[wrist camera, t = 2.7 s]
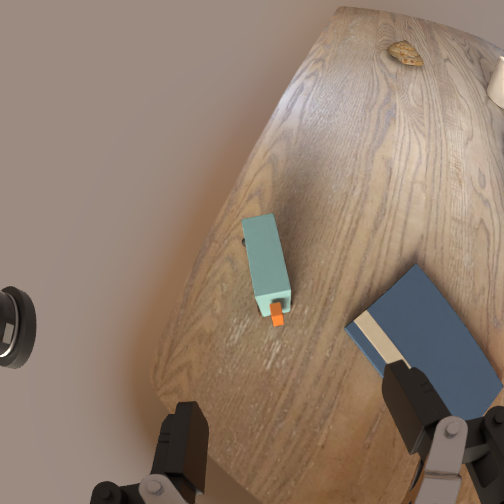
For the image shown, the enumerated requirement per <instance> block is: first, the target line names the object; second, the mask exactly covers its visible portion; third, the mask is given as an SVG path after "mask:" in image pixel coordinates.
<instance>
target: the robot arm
mask: <svg viewBox="0 0 504 504" xmlns="http://www.w3.org/2000/svg"><path fill="white" fill-rule="evenodd" d="M20 324H21V317H20V309H19V305H18V302H17V300H16V299H15V298H14V297H13V296H12V295H10V294H8V293H5V292H2V291H0V357H2V358H5V357H8V356H9V355H10V354H11V353H12V352H13V350H14V348H15V346H16V344H17V341H18V338H19V333H20ZM382 395H383V398H384V401H385V403H386V405H387V407H388V409H389V411H390V413H391V415H392V417H393V419H394V421H395V424H396V426H397V428H398V430H399V432H400V434H401V436H402V439H403V441H404V443H405V445H406V447H407V450H408V452H409V454H410V455H412V454H414V453H416V452H418V453H419V456H420V459H419V461H418V464H417V467H416V470H415V473H414V476H413V478H412V481H411V484H410V486H409V489H408V491H407V493H406V496H405V498H404V499H403V501H402V503H401V504H455V502H456V499H457V496H458V492H459V489H460V485H461V480H462V478H461V476H460V475H459V472H460V468H461V464H464V463H465V465H466V467H467V469H468V472H469V474H470V476H471V479H472V481H473V484H474V486H475V489H476V491H477V494H478V496H479V499H480V502H481V504H504V407H503V406H495V407H493V408H491V409H490V410H489V411H488V412H487V413H486V415H485V416H483V417H479V418H475V419H470V420H463V419H462V418H460V417H457V416H453V415H452V414H451V413H450V411H449V410H448V408H447V407H446V405H445V403H444V402H443V400H442V399H441V397H440V396H439V394H438V393H437V391H436V390H435V389H434V387H433V385H432V384H431V383H430V381H429V379H428V378H427V376H426V375H425V373H424V372H422V371H421V370H419V369H418V368H416V367H412V368H410V369H409V368H408V366H407V365H406V363H405V362H404V360H402V359H400V360H398V361H395V362H392V363H389V364H386V365H385V368H384V375H383V382H382ZM208 438H209V427H208V423H207V420H206V418H205V417H204V415H203V413H202V411H201V409H200V407H199V405H198V404H197V402H196V401H191V402H179V403H178V404H177V406H176V411H175V414H169V415H168V416H167V417H166V419H165V420H164V421H163V423H162V426H161V431H160V435H159V439H158V444H157V447H156V452H155V457H154V461H153V466H152V470H151V473H150V475H148V476H146V477H145V478H143V480H142V481H141V482H140V483H138V484H133V485H127V486H120V487H119V486H117V485H116V484H114V483H112V482H109V481H105V482H101V483H99V484H98V485H96V486H95V488H94V489H93V492H92V496H91V501H90V504H196V503H195V496H196V494H199V495H203V494H204V488H205V474H206V462H207V450H208Z"/></svg>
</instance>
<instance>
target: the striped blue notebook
mask: <svg viewBox="0 0 504 504" xmlns="http://www.w3.org/2000/svg"><path fill="white" fill-rule="evenodd" d="M344 329H345V330H346V332H347V333H348V334H349V336H350V337H351V338H352V339H353V341H354V342H355V343H356V344H357V346H358V347H359V348H360V350H361V351H362V352H363V353H364V355H365V356H366V357H367V359H368V360H369V361H370V362H371V364H372V365H373V366H374V368H375V369H376V370H377V372H378V373H379V374H380V375H381V377H382V378H383V375H384V368H385V365H386V364H389V363H392V362H395V361H398V360H400V359H402V360H404V362H405V363H406V365H407V366H408V368H409V369H410V368H412V367H416V368H418V369H419V370H421V371H422V372H424V373H425V375H426V376H427V378H428V379H429V381H430V383H431V384H432V385H433V387H434V389H435V390H436V391H437V393H438V394H439V396H440V397H441V399H442V400H443V402H444V403H445V405H446V407H447V408H448V410H449V411H450V413H451V414H452V415H453V416H457V417H460V418H462V419H463V420H470V419H475V418H479V417H482V416H483V414H484V413H485V412H486V410H487V409H488V408H489V406H490V405H491V404H492V402H493V401H494V399H495V398H496V397H497V395H498V394H499V392H500V391H501V389H502V388H503V384H502V383H501V381H500V379H499V377H498V376H497V374H496V372H495V371H494V369H493V367H492V366H491V364H490V362H489V361H488V359H487V358H486V356H485V355H484V353H483V351H482V350H481V348H480V347H479V345H478V344H477V342H476V341H475V339H474V338H473V336H472V335H471V333H470V332H469V330H468V329H467V328H466V326H465V325H464V323H463V322H462V321H461V319H460V318H459V316H458V315H457V314H456V312H455V311H454V310H453V308H452V307H451V306H450V304H449V303H448V302H447V300H446V299H445V298H444V296H443V295H442V294H441V293H440V291H439V290H438V289H437V287H436V286H435V285H434V284H433V283H432V281H431V280H430V279H429V278H428V276H427V275H426V274H425V273H424V272H423V270H422V269H421V268H420V267H419V266H418V264H417V263H416V264H415V265H414V266H413V267H412V268H411V269H410V270H408V271H407V272H406V273H405V274H404V275H403V276H402V277H401V278H400V279H399V280H398V281H397V282H396V283H395V284H394V285H393V286H392V287H391V288H390V289H389V290H387V291H386V292H385V293H384V294H383V295H382V296H381V297H380V298H379V299H378V300H376V301H375V302H374V303H373V304H372V305H371V306H370V307H369V308H367V309H366V310H365V311H364V312H363V313H362V314H360V315H359V316H358V317H357V318H356V319H355V320H353V321H352V322H351V323H350V324H349V325H347V326H346V327H345V328H344Z"/></svg>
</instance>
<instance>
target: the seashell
mask: <svg viewBox="0 0 504 504" xmlns="http://www.w3.org/2000/svg"><path fill="white" fill-rule="evenodd" d="M387 51H389V52H390V54H391V55H392V56H394V57H397V58H398V60H399V61H401V63H402V64H407V65H416V66H422V65H423V64H424V63H423V59H422V58H421V56H420V55H419V54H418V52H417V51H416V50H415V48H414V47H413V46H412V45H411V44H410V43H408V42H407V41H406V40H404V41H400V42H396V43H394V44H393V45H390V46H389V47H388V49H387Z"/></svg>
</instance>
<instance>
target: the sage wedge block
mask: <svg viewBox="0 0 504 504" xmlns="http://www.w3.org/2000/svg"><path fill="white" fill-rule="evenodd" d="M242 226H243V232H244V237H245V238H243V240H242V245H243V246H245V247H246V249H247V255H248V260H249V266H250V272H251V278H252V283H253V289H254V295H255V298H256V301H257V307H258V312H259V314H260V315H261V314H262V316H263V317H265V316H270V315H271V317H272V321H273V325H274V326H278V325H283V324H284V322H283V313H285V312H290V309H291V308H292V301H291V287H290V282H289V278H288V273H287V269H286V264H285V260H284V256H283V251H282V247H281V243H280V239H279V234H278V230H277V226H276V222H275V218H274V214H273V213H271V214H266V215H261V216H256V217H251V218H246V219H242Z"/></svg>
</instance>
